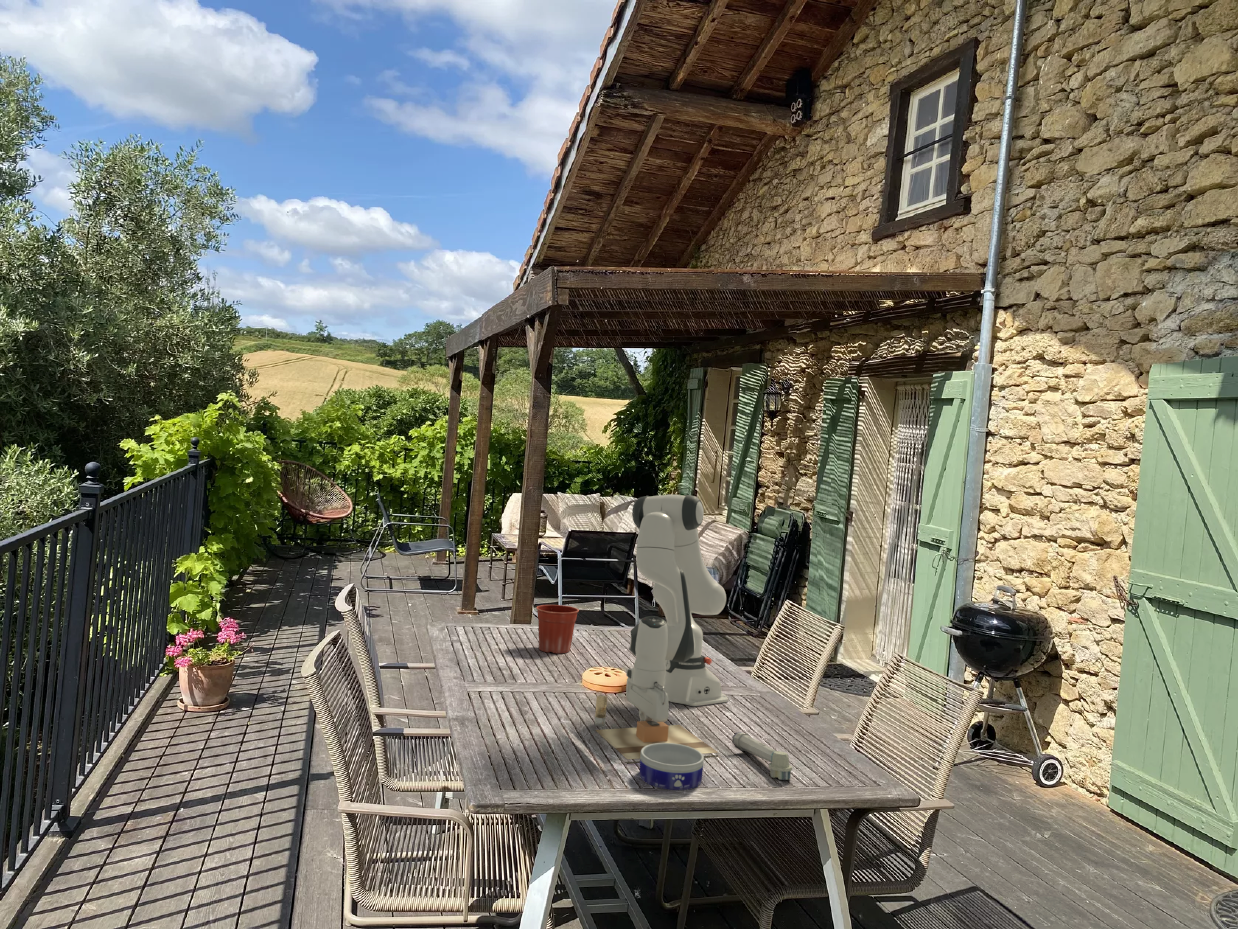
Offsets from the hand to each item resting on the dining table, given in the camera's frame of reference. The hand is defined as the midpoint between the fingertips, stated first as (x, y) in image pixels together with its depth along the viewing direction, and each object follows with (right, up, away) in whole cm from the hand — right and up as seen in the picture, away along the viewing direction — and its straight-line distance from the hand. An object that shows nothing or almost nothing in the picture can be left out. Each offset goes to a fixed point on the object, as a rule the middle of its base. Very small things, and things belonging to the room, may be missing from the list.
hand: (644, 728), depth 228 cm
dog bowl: (+5, -4, -27) cm, 28 cm away
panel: (+3, -3, -6) cm, 7 cm away
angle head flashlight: (+30, -6, -12) cm, 32 cm away
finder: (+2, -2, -4) cm, 5 cm away
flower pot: (-32, 0, +93) cm, 98 cm away
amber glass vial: (-13, -2, +4) cm, 13 cm away
